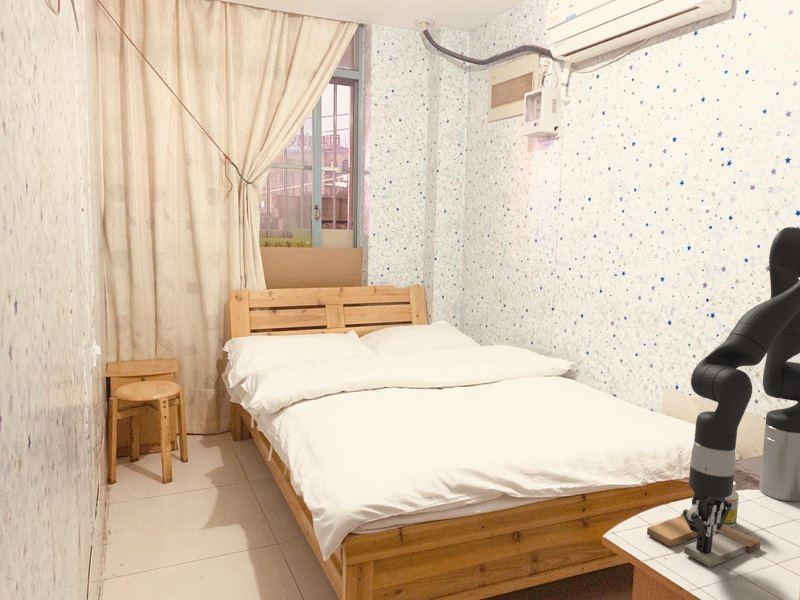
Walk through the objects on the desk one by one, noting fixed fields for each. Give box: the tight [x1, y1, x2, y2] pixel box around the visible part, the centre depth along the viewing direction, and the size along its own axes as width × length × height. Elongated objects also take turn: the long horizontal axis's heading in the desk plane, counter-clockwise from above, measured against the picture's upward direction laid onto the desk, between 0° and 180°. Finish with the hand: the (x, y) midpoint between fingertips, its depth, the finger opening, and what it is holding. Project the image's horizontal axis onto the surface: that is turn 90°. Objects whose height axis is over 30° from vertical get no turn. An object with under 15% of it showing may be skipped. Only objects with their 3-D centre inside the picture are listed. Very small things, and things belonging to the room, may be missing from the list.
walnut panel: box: [680, 513, 761, 555], centre depth 124 cm, size 4×15×2 cm, turn 30°
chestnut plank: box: [646, 515, 697, 547], centre depth 124 cm, size 12×6×2 cm, turn 120°
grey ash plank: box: [683, 533, 746, 568], centre depth 116 cm, size 12×6×2 cm, turn 120°
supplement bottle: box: [723, 481, 739, 528], centre depth 129 cm, size 5×5×10 cm
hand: (703, 551), depth 114 cm, fingers closed
